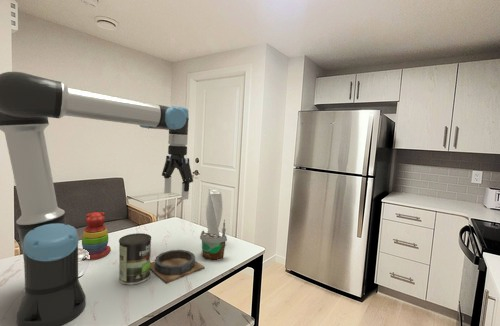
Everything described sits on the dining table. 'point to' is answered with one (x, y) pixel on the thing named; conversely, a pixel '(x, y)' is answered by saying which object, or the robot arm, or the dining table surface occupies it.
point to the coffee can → (134, 258)
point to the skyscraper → (214, 212)
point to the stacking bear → (95, 236)
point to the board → (171, 263)
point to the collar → (176, 268)
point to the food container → (212, 246)
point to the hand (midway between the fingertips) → (175, 196)
